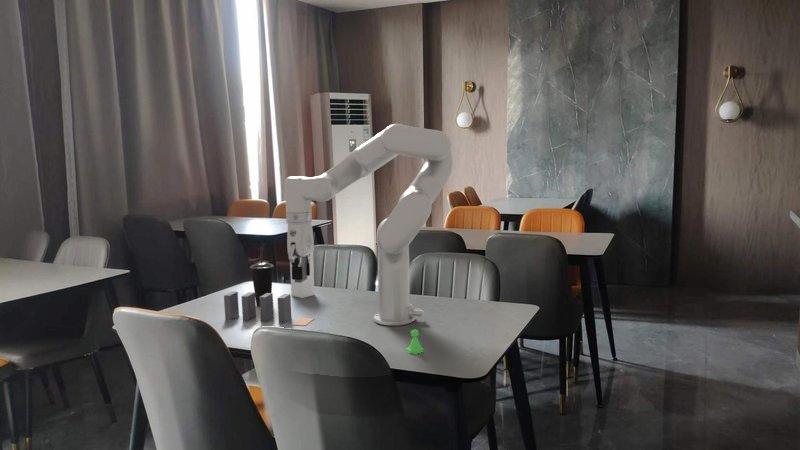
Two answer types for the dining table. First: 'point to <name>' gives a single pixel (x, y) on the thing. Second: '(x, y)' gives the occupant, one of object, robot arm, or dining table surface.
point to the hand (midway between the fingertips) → (301, 276)
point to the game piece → (415, 343)
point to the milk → (303, 283)
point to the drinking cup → (262, 278)
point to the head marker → (303, 321)
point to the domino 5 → (303, 268)
